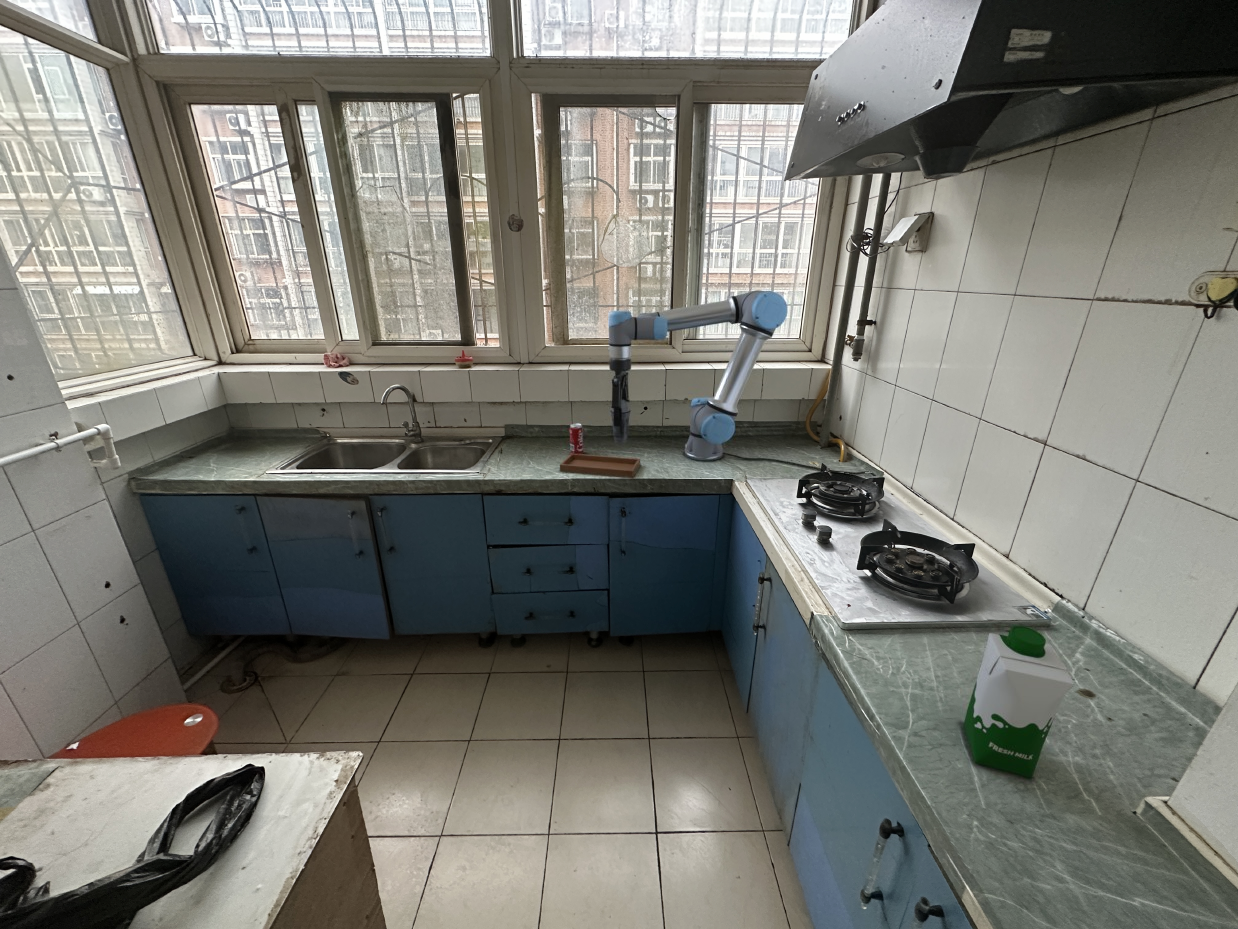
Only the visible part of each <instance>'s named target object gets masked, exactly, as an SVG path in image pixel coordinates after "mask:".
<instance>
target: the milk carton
mask: <svg viewBox="0 0 1238 929" xmlns="http://www.w3.org/2000/svg"><path fill="white" fill-rule="evenodd" d="M1046 642H1047V640H1046V638H1045V636H1044V635H1042V634H1041V633H1040V632H1039V631H1037V630H1035V629H1033V628H1030V627H1027V626H1022V625H1013V626H1011V627H1010V628H1009V632H1008V634H1007V635H1005V634H997V633H991V632H990V633H989V634H988V638H987V642H986V646H985V650H984V654H983V658H982V662H981V666H980V669H979V672H978V675H977V677H976V680H975V684H974V687H973V690H972V694H971V697H970V699H969V703H968V706H967V708H966V713H965V717H964V722H963V728H964V731H965V733H966V737H967V741H968V743H969V747H970V750H971V753H972V756H973V761H974V763H975V764H978V765H982V766H985V767H989V768H993V769H996V770H1001V771H1004V772H1007V773H1012V774H1015V775H1019V776H1023V777H1026V778H1030V779H1032V778H1033V776H1034V774H1035V770H1036V767H1037V764H1038V762H1039V759H1040V756H1041V752H1042V750H1043V747H1044V744H1045V742H1046V739H1047V738H1048V735H1049V732H1050V731H1051V730H1050V729H1051V728H1052V725H1053V722H1054V720H1055V717H1056V715H1057V713H1058V711H1059V707H1060V705H1061V702H1062V700H1063V699H1064V698H1065V696H1066V695H1067V694H1068V693H1069V692H1070V690H1071V689H1072V688H1073V687H1074V686H1075V682H1074V681H1073V679H1072V677H1071V675H1070V673H1068V668H1067V666H1066V665H1065V664H1064V663H1063V661H1062V660H1061V658H1060V657H1059V655H1058V654H1057V652H1056V651H1055V649H1054V647H1053V646H1052V644H1047V643H1046Z"/></svg>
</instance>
